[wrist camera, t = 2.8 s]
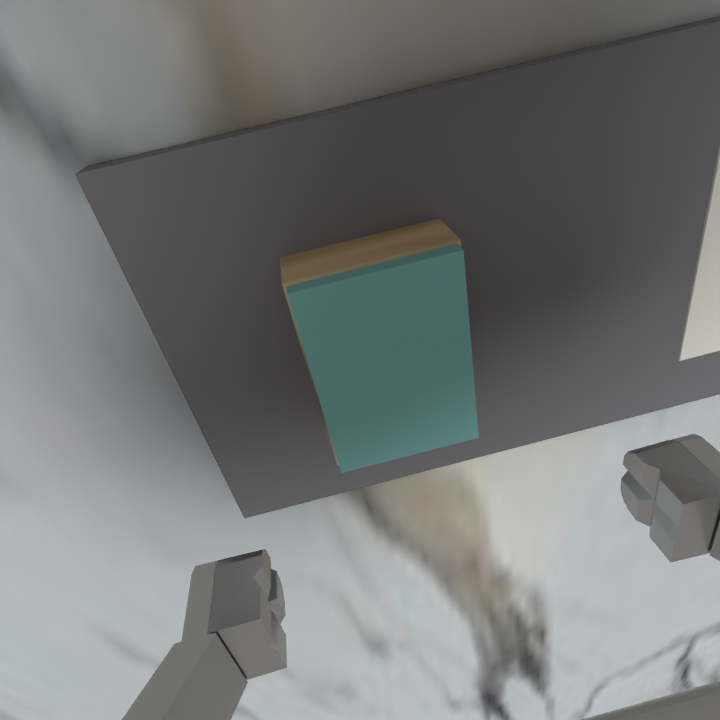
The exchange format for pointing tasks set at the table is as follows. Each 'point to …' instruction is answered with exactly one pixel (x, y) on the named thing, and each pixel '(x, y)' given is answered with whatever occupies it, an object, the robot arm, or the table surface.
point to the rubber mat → (478, 240)
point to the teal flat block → (386, 341)
